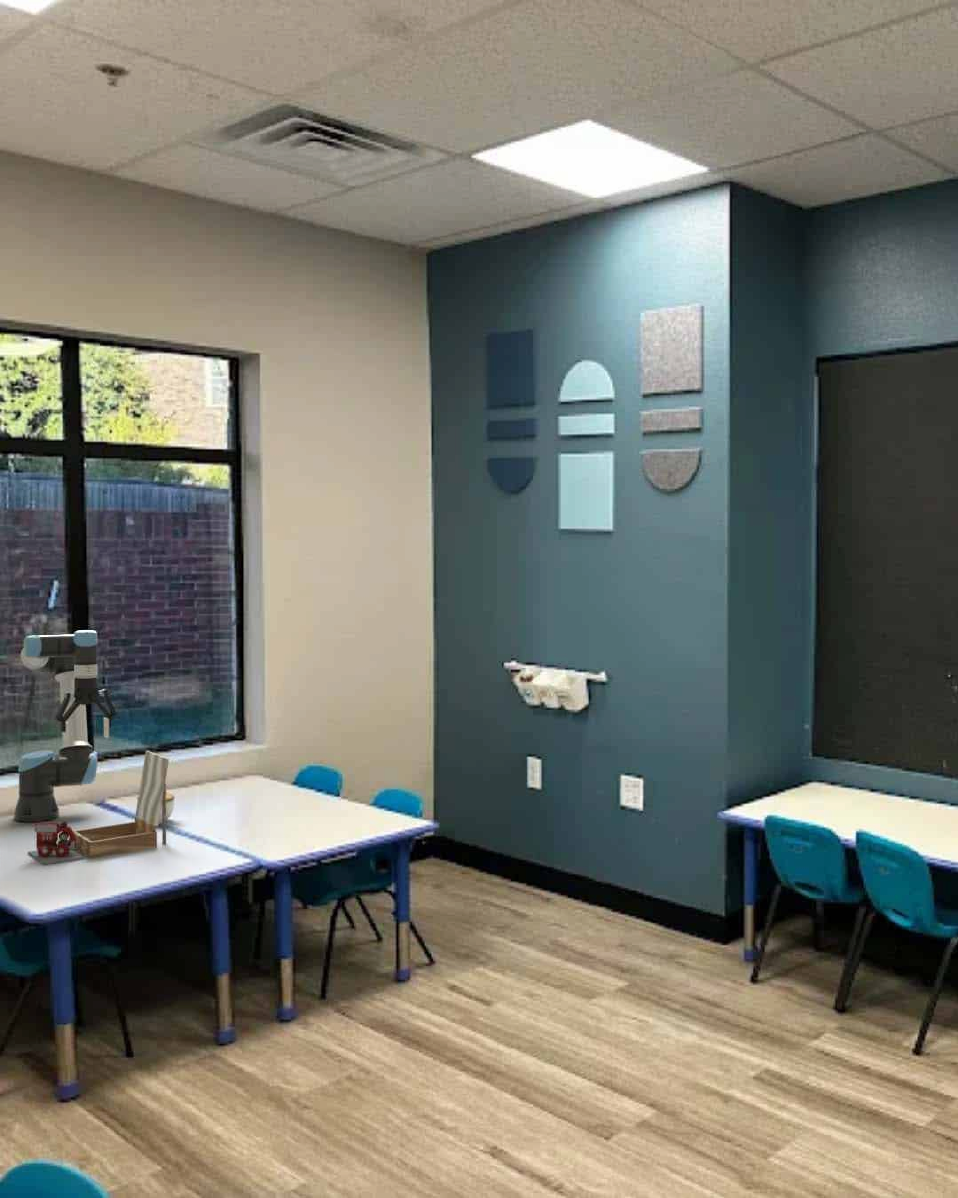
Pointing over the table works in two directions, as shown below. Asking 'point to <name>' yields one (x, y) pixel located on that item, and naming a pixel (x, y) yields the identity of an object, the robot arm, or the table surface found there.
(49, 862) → the mat
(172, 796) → the lidded bowl
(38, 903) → the table surface
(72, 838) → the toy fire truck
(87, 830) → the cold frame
